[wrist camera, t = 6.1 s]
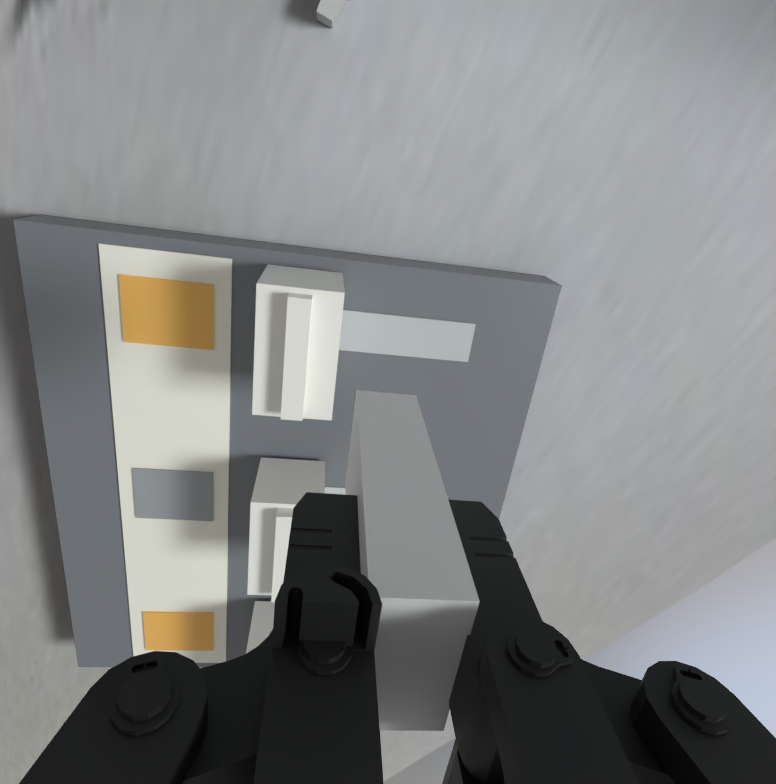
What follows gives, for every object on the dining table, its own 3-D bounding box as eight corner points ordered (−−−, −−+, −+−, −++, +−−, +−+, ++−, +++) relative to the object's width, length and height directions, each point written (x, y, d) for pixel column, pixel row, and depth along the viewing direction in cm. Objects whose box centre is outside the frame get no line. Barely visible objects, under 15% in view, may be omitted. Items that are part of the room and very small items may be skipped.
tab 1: (342, 273, 21) (345, 297, 17) (331, 384, 23) (331, 427, 19) (268, 264, 21) (254, 287, 17) (263, 379, 23) (249, 422, 19)
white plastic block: (310, 602, 28) (307, 669, 24) (304, 666, 30) (300, 737, 26) (254, 601, 28) (243, 669, 24) (252, 666, 30) (240, 738, 26)
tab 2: (325, 461, 25) (324, 514, 21) (316, 544, 27) (314, 606, 23) (261, 457, 24) (248, 511, 21) (257, 542, 26) (245, 605, 22)
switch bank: (544, 276, 24) (563, 286, 22) (451, 641, 34) (459, 671, 32) (40, 214, 21) (10, 220, 19) (93, 636, 31) (76, 670, 29)
